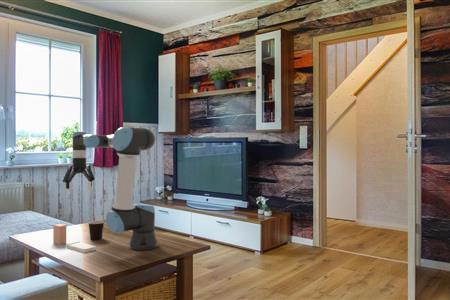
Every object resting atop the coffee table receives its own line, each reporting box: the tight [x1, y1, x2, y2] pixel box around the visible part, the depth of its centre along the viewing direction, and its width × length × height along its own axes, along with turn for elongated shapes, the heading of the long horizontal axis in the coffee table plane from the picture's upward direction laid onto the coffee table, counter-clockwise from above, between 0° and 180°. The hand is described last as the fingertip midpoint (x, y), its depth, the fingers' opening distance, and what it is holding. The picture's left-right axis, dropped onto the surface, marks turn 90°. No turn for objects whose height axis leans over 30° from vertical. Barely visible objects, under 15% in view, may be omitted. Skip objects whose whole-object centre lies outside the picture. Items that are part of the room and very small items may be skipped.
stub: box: [52, 223, 67, 246], centre depth 206 cm, size 6×4×10 cm, turn 56°
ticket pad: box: [67, 241, 97, 254], centre depth 195 cm, size 14×7×2 cm, turn 56°
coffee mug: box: [88, 220, 105, 241], centre depth 217 cm, size 12×9×10 cm
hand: (79, 193), depth 219 cm, fingers open, 13 cm apart
